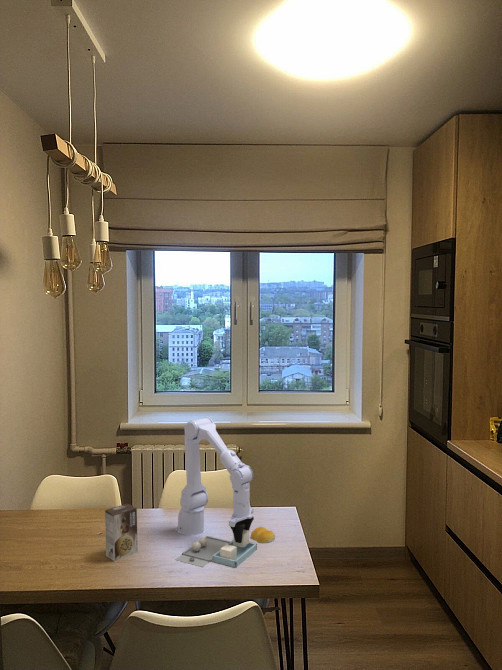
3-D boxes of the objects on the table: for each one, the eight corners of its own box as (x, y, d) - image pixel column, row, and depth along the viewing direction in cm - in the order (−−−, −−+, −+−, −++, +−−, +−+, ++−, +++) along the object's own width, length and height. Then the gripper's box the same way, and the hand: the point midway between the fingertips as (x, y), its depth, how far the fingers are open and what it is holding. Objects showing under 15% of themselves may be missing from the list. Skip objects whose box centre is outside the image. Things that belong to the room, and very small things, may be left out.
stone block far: (233, 545, 181) (233, 532, 181) (239, 540, 184) (239, 528, 184) (243, 547, 179) (243, 534, 179) (248, 543, 182) (249, 530, 182)
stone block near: (220, 562, 173) (220, 548, 173) (226, 557, 176) (226, 544, 176) (230, 564, 171) (230, 551, 171) (236, 560, 174) (236, 546, 174)
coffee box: (128, 547, 185) (127, 502, 184) (138, 553, 180) (137, 507, 179) (104, 555, 178) (104, 509, 178) (114, 562, 174) (114, 514, 173)
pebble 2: (196, 547, 184) (196, 538, 184) (201, 543, 187) (201, 535, 186) (204, 549, 182) (204, 540, 182) (209, 545, 185) (209, 536, 185)
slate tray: (174, 561, 175) (174, 556, 174) (206, 538, 192) (206, 534, 192) (203, 568, 169) (203, 564, 169) (234, 544, 187) (234, 540, 187)
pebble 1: (190, 551, 180) (190, 542, 180) (195, 548, 183) (195, 539, 183) (197, 553, 179) (197, 544, 179) (203, 550, 182) (203, 541, 181)
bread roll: (263, 547, 186) (263, 536, 186) (247, 538, 193) (247, 528, 192) (280, 540, 191) (280, 529, 191) (263, 532, 198) (263, 522, 198)
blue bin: (212, 563, 173) (212, 555, 173) (234, 545, 186) (234, 538, 186) (235, 569, 169) (235, 561, 169) (256, 550, 182) (256, 543, 182)
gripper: (241, 510, 173) (241, 550, 173) (261, 496, 185) (260, 534, 186) (223, 506, 176) (223, 546, 176) (243, 493, 189) (243, 530, 189)
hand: (241, 539), depth 181 cm, fingers closed on stone block far, 4 cm apart
